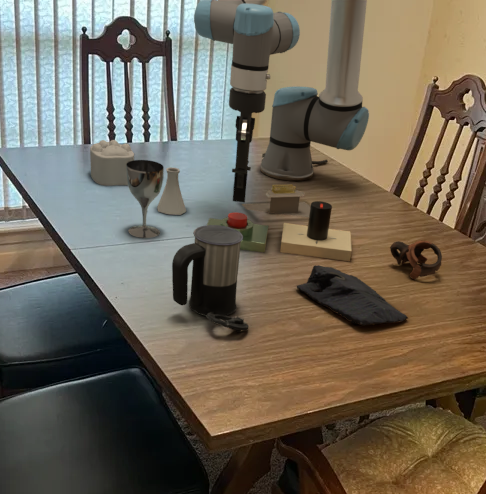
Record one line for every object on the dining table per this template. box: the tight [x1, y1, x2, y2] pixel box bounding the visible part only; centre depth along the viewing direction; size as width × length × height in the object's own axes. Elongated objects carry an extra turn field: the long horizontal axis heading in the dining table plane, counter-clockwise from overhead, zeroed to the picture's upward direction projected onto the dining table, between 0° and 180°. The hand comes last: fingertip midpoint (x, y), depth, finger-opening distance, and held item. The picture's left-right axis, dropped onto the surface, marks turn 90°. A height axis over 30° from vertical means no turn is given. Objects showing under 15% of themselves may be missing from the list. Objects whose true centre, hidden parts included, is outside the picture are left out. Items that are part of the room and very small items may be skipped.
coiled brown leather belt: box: [389, 240, 443, 280], centre depth 173 cm, size 12×10×8 cm
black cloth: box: [296, 264, 409, 326], centre depth 155 cm, size 15×22×5 cm
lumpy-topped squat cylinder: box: [89, 139, 135, 187], centre depth 199 cm, size 10×13×9 cm
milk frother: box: [171, 224, 250, 333], centre depth 141 cm, size 14×16×15 cm
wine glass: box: [126, 159, 165, 239], centre depth 170 cm, size 8×8×15 cm
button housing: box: [206, 216, 269, 253], centre depth 176 cm, size 14×11×4 cm
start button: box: [227, 211, 248, 227], centre depth 174 cm, size 4×4×2 cm
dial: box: [307, 200, 333, 240], centre depth 175 cm, size 5×5×8 cm
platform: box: [241, 184, 311, 219], centre depth 194 cm, size 12×18×7 cm, turn 114°
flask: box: [156, 166, 187, 216], centre depth 184 cm, size 7×7×10 cm
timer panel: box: [279, 222, 353, 262], centre depth 178 cm, size 16×12×3 cm
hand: (238, 200), depth 172 cm, fingers closed
